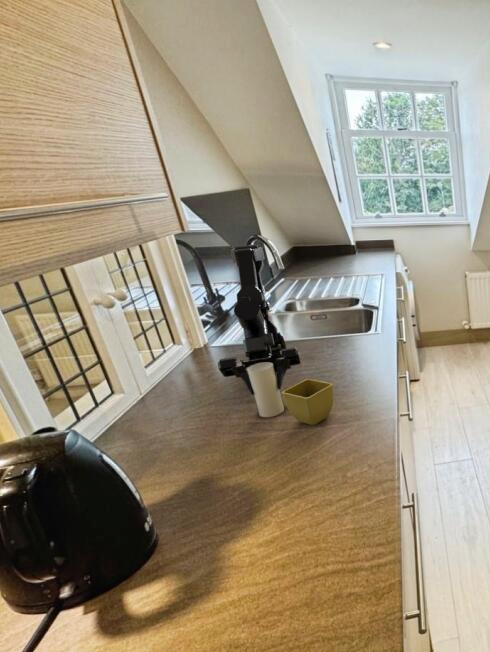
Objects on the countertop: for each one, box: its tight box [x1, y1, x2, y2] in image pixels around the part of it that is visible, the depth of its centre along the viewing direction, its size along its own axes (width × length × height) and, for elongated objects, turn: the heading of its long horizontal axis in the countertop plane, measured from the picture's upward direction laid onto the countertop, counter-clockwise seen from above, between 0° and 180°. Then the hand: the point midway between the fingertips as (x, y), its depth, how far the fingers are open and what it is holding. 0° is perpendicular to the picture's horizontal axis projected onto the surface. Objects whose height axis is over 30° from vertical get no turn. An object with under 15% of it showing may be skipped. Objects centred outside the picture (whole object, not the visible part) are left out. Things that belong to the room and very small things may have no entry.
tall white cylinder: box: [246, 362, 285, 418], centre depth 117 cm, size 6×6×13 cm
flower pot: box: [280, 378, 334, 426], centre depth 113 cm, size 9×9×9 cm
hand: (265, 391), depth 116 cm, fingers closed on tall white cylinder, 6 cm apart
